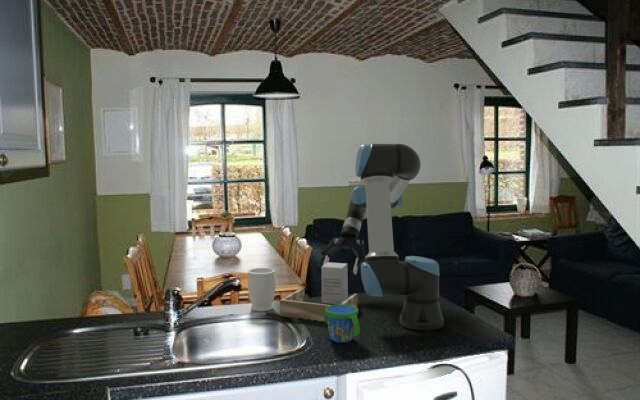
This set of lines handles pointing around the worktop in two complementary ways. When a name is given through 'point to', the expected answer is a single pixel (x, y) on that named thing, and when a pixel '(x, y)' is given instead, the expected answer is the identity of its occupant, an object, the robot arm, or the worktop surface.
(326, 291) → the supplement box
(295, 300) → the wooden u-shaped frame
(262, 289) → the jar
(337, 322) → the snack cup
